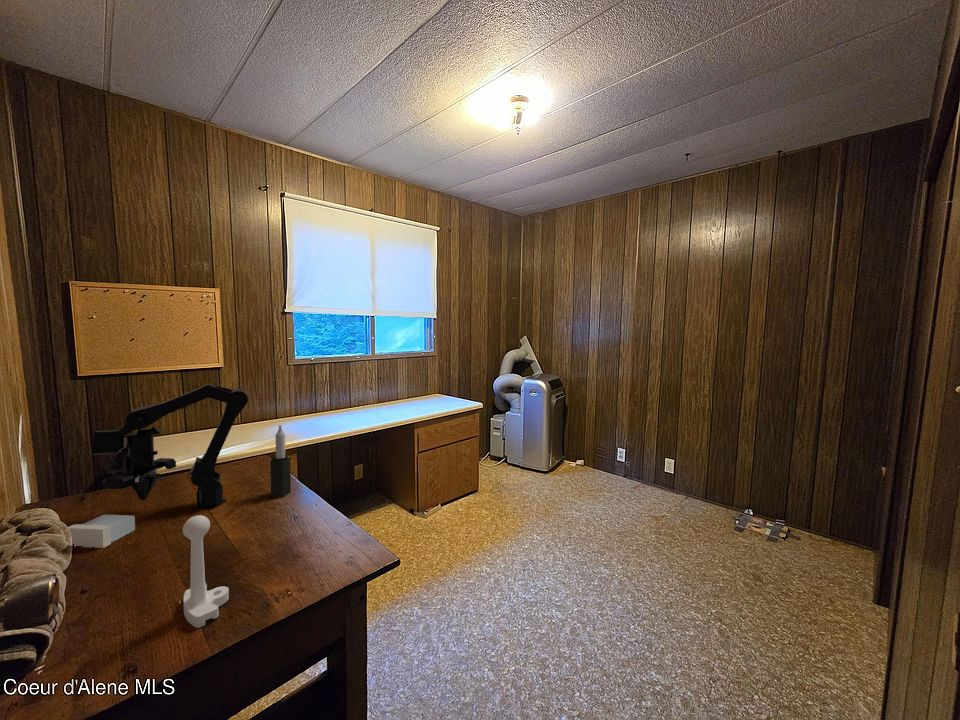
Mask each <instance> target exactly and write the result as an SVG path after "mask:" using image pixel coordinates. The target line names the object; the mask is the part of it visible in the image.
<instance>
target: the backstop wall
mask: <svg viewBox="0 0 960 720" xmlns="http://www.w3.org/2000/svg"><path fill="white" fill-rule="evenodd" d="M83 524H84V523H81V524H78V523H77V524H76V523H75V524H72V525H69V526H68V528H69V530H70V533H71V536H72V540H73V544H74V548H75V547H76V546H83V547H82V548H92V547H94V549H97V548H98V549H104V548H106V547H108V546H110V545H111V544H112V543H111V527H110V526H105V525H83ZM76 548H77V547H76Z"/></svg>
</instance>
